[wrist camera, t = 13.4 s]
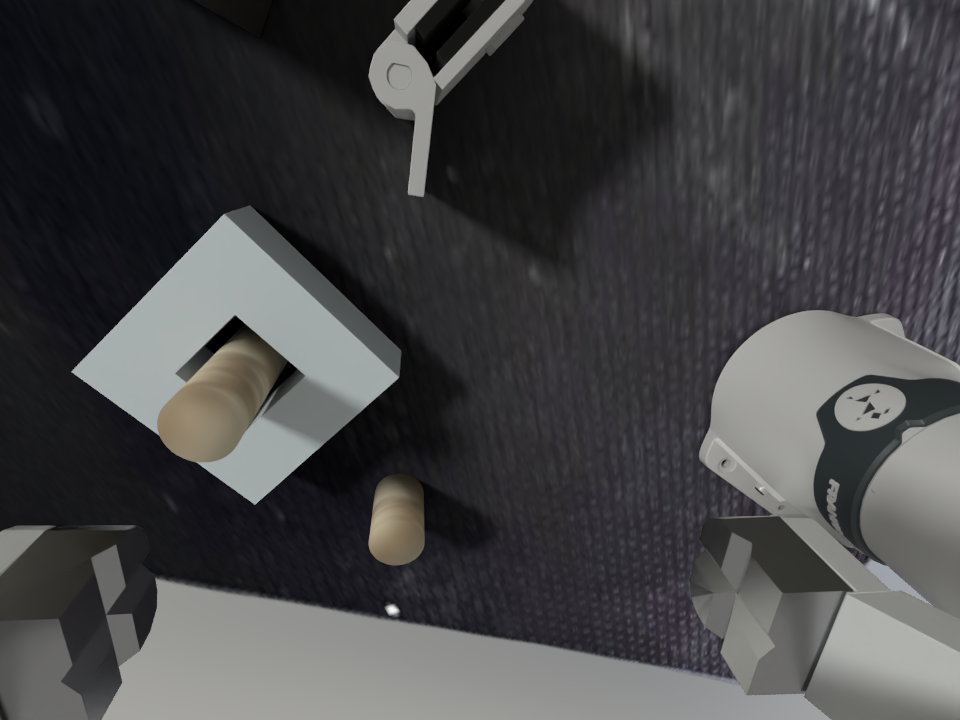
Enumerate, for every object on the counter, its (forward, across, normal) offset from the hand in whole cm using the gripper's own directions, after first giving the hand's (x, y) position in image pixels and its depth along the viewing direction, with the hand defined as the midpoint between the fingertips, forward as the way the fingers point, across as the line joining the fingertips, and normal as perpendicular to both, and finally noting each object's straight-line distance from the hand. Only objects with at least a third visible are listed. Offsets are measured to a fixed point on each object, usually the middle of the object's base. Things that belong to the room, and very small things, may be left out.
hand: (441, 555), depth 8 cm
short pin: (+31, +1, +21) cm, 38 cm away
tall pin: (+31, +11, +8) cm, 34 cm away
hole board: (+31, +11, +8) cm, 34 cm away
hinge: (+31, -2, -10) cm, 33 cm away
